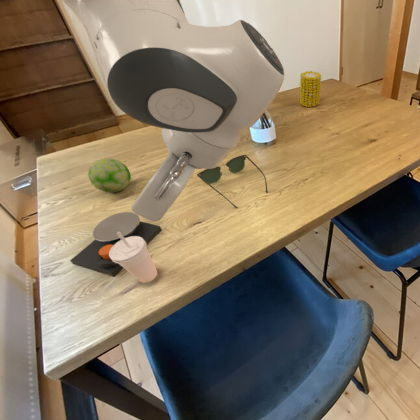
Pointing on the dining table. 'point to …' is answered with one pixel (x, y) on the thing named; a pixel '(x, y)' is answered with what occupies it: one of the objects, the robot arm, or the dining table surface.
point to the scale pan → (116, 227)
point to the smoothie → (134, 257)
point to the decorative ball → (109, 175)
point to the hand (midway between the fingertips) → (159, 192)
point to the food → (310, 88)
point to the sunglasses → (234, 167)
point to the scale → (91, 253)
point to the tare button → (105, 252)
